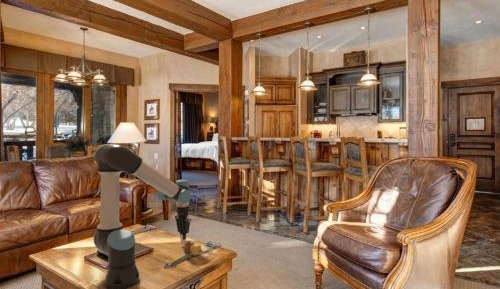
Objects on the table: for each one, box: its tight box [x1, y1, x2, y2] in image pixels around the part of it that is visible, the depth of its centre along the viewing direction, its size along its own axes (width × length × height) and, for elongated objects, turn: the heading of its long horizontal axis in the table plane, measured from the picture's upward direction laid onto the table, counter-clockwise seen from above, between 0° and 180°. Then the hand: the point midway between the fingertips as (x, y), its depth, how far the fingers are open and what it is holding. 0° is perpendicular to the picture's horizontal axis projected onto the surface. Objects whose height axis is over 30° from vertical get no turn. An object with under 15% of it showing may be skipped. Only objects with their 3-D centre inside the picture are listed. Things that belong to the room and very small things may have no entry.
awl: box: [183, 240, 192, 260], centre depth 169 cm, size 3×3×10 cm
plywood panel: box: [180, 243, 220, 259], centre depth 179 cm, size 14×18×1 cm
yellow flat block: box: [190, 241, 201, 253], centre depth 180 cm, size 6×8×3 cm
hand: (183, 244), depth 186 cm, fingers closed
